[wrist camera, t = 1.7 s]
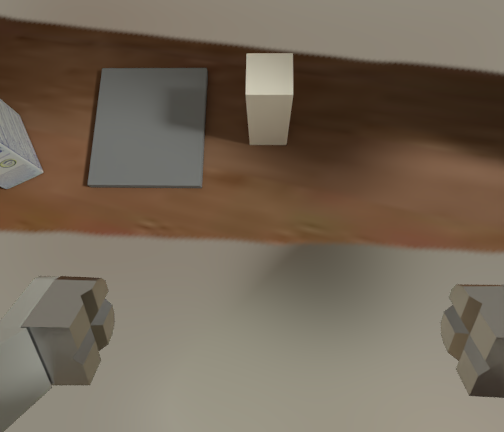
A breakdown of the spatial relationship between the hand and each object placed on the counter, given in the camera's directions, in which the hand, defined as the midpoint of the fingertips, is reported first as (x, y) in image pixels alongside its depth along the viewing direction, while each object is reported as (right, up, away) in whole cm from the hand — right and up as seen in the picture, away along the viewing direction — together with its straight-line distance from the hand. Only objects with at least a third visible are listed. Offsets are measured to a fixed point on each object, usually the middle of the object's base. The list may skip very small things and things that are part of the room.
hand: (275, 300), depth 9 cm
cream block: (+1, +12, +33) cm, 35 cm away
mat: (-12, +12, +34) cm, 38 cm away
